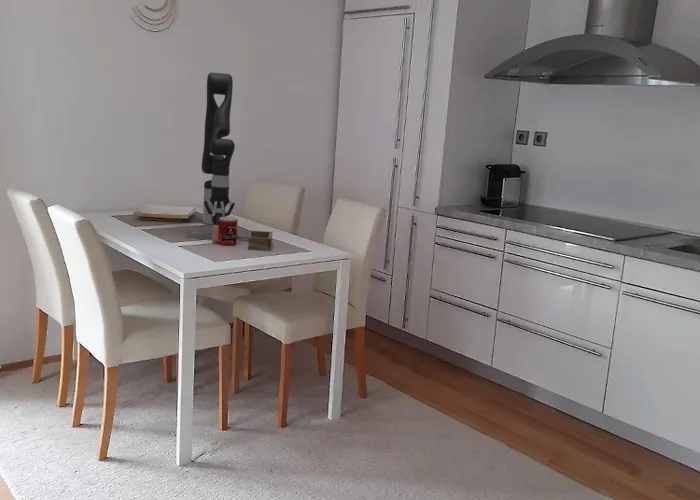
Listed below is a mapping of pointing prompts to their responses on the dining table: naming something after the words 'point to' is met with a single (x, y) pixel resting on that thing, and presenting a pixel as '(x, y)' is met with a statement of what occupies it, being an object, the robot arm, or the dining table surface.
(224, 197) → the robot arm
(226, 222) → the canned food
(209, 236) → the rail
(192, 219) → the dining table surface
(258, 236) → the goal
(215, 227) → the grey block with post
